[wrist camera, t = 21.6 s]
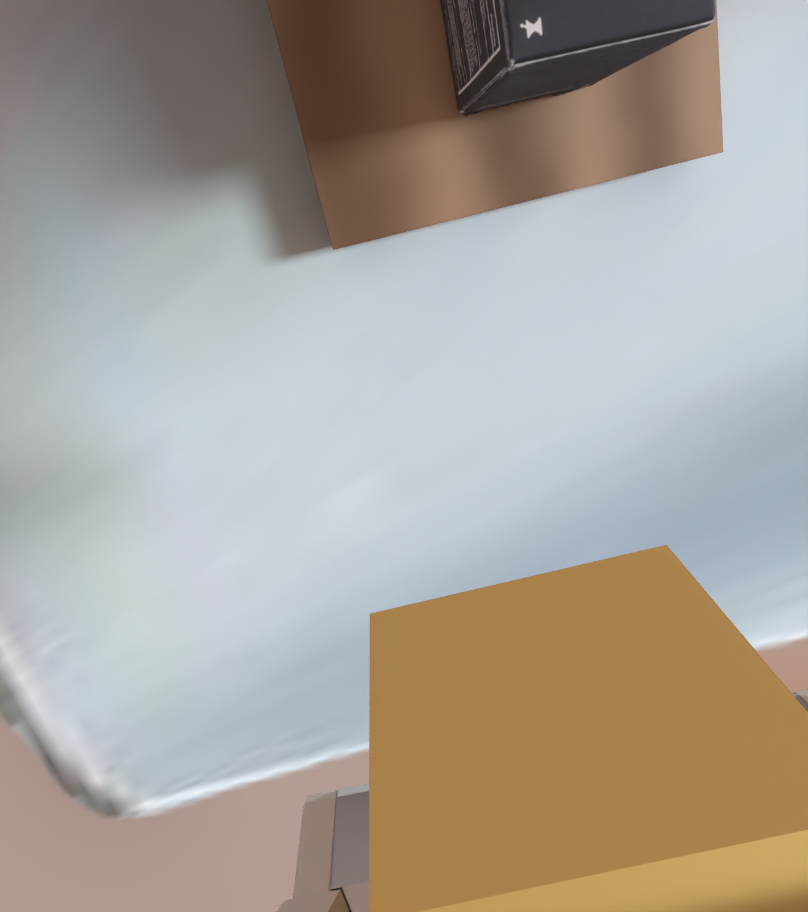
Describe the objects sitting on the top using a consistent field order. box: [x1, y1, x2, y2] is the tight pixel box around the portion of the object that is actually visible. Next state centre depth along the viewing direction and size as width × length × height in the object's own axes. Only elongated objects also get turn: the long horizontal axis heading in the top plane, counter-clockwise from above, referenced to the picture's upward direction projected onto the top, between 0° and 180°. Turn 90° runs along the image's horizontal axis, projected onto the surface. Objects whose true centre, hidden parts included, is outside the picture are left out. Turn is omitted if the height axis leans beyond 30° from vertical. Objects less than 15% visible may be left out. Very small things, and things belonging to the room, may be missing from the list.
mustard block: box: [369, 545, 808, 912], centre depth 9 cm, size 5×5×5 cm
